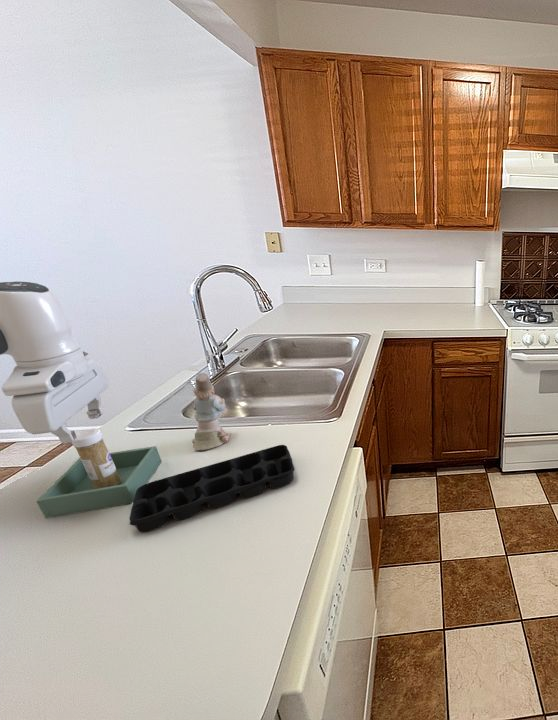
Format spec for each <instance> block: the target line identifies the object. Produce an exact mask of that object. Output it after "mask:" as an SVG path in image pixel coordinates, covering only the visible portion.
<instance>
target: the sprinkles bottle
mask: <svg viewBox="0 0 558 720" xmlns="http://www.w3.org/2000/svg"><path fill="white" fill-rule="evenodd" d="M75 435H76V436H77V437H76V439H75V440H74V441H72V442H71V444H72V446H73V447H74V448H75V450H76V452H77V454H78V456H79V458H80V459H81V461H82V463H83V465H84V468H85V470H86V472H87V474H88V476H89V478H90V479H91V481H92V483H93V485H94V489H99V488H105V487H110V486H116V485H119V484H120V483H121V481H122V480H121V478H120V477H119V475H118V472H117V470H116V467H115V465H114V462H113V460H112V458H111V456H110V453H111V452H110V451H109V450H108V448H107V445H106V443H105V440H104V437H103V433H102V431H101V430H100V429H99V428H88V429H84V430H81V431H78V432H77V433H76V432H75Z"/></svg>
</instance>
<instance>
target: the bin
mask: <svg viewBox="0 0 558 720" xmlns="http://www.w3.org/2000/svg"><path fill="white" fill-rule="evenodd" d="M109 453H110V456H111V458H112V460H113V462H114V465H115V467H116V470H117V472H118V475H119V477H120V478H121V480H122V481H121V483H120V484H119V485H116V486H110V487H105V488H99V489H94V485H93V483H92V481H91V479H90V478H89V476H88V474H87V472H86V470H85V468H84V465H83V463H82V461H81V459H80V457H79V458H78V459H76V461H74V463H73V464H72V465H71V466H69V468H67V470H66V471H65V472H64V473H62V475H60V476H59V478H58V479H57V480H55V482H54V483H53V484H52V485H51V486H50V487H49V488H48V489H46V491H45V492H44V493H43V494H42V495H40V496H39V498H38V499H36V504H37V505H38V507H39V509H40V511H41V513H42V515H43V517H44V519H50V518H56V517H57V518H58V517H63V516H67V515H73V514H78V513H79V514H80V513H84V512H89V511H90V512H91V511H95V510H101V509H106V508H112V507H116V506H122V505H129V504H133V501H134V497H135V494H136V490H137V489H138V488H139V487H141V486H143V485H145V484H147V483H149V480H151V478H152V476H153V475H154V473H155V472H156V470H157V469H158V468H159V466H160V464H161V463H162V458H161V456H160V453H159V451H158V448H157V446H156V445H154V446H146V447H140V448H134V449H127V450H120V451H119V450H118V451H114V452H109Z"/></svg>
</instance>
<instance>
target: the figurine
mask: <svg viewBox="0 0 558 720" xmlns="http://www.w3.org/2000/svg"><path fill="white" fill-rule="evenodd" d="M192 391H193V392H192V393H194V396H195V397H196V398H195V399H194V402H193V407H192V408H193V410H195V411H194V418H195V421H196V422H197V424H198V425H197V427H196V431H195V432H194V438H193V439H191V443H192V444H193V445H192V447H193V448H194V449H195V450H196V451H204V450H210V449H213V448H216V447H219V446H221V445H223V444H225V443H227V442H228V441H229V440H230V435H229V434H228V433H227V432H226V430H224V429H223V427H222V425H220V420H219V419H220V418H221V417H224V416H226V415H227V414H228V412H229V409H228V408H227V407H226V400H225V398H223V397H221V396H219V395H217V394H215V392H216V391H215V386H214V385H213V384H212V382H211V379H210V376H209V374H207V373H205V372H200V373H197V374H196V376H195V386H194V388H193V390H192Z"/></svg>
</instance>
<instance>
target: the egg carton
mask: <svg viewBox="0 0 558 720" xmlns="http://www.w3.org/2000/svg"><path fill="white" fill-rule="evenodd" d="M295 470H296V469H295V466H294V462H293V458H292V455H291V452H290V450H289V449H288V446H287V445H285V444H278V445H274V446H271V447H267V448H265V449H261V450H258V451H254V452H251V453H247V454H243V455H241V456H237V457H233V458H231V459H226V460H223V461H220V462H215V463H213V464H209V465H205V466H202V467H198V468H196V469H195V468H194V469H192V470H188V471H185V472H182V473H178V474H174V475H171V476H167V477H163V478H159V479H157V480H154V481H150V482H147V484H145V485H143V486H141V487H139V488H138V489H137V490H136V494H135V497H134V501H133V503H132V506H131V509H130V514H129V524H130V525H131V526H135V527H136V529H137V531H138V532H139V533H148V532H151V531H154V530H157V529H160V528H162V527H164V526H165V525H167V523H169V521H170V515H172V516H173V518H174V520H176V521H183V520H185V519H189V518H192V517H195V516H196V515H197V514H199V513H201V512H203V511H204V509H205V507H206V506H208V508H209V509H210V510H215V509H220V508H223V507H225V506H229V505H230V504H232V503H234V502H235V501H236V498H237V496H236V495H237V494H239V496H240V498H242V499H249V498H252V497H256V496H258V495H261V494H263V493H264V492H265V491H266V489H267V487H268V486H269V487H270V488H271V489H279V488H282V487H286V486H288V485H290V484H292V482H294V479H295V478H294V477H295V476H294V472H295Z"/></svg>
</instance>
